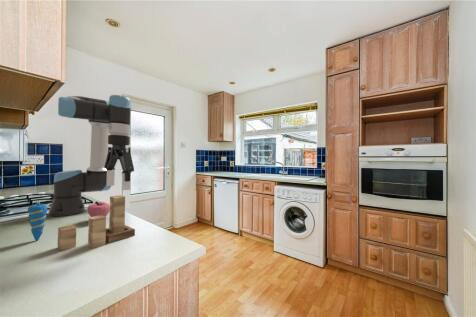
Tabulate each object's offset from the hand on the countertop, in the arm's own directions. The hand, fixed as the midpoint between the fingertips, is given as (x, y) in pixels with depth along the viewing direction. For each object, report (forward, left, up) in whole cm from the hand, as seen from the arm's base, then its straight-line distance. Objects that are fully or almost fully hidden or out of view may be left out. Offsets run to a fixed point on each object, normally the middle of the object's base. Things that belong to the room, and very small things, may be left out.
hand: (117, 187), depth 80 cm
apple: (-27, +3, -20) cm, 33 cm away
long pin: (0, 0, -20) cm, 20 cm away
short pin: (-3, -15, -20) cm, 25 cm away
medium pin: (+3, -8, -20) cm, 21 cm away
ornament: (-18, -20, -20) cm, 33 cm away
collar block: (0, 0, -19) cm, 19 cm away
